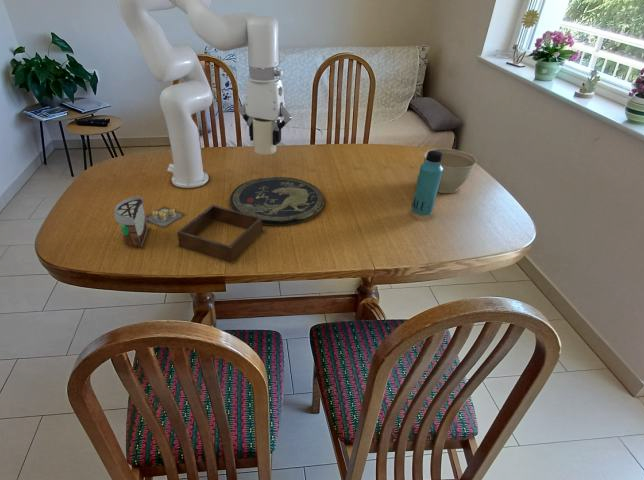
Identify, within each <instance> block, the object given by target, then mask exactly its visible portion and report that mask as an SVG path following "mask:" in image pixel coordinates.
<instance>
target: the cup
mask: <svg viewBox="0 0 644 480" xmlns="http://www.w3.org/2000/svg"><path fill="white" fill-rule="evenodd" d="M274 130H275V129H274V127H273V124H272V121H270V120H264V119H258V118H253V141H252V143H253V152H254V153H256V154H258V155H266V156H267V155H272V154H275V153H276V152H277V150H278V144H277V145H273V131H274Z"/></svg>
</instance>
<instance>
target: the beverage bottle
mask: <svg viewBox="0 0 644 480" xmlns="http://www.w3.org/2000/svg"><path fill="white" fill-rule="evenodd" d="M431 150H432V151H429V150H428V151H429V152H428V154H427V157H426V160H428V161H427V162H425V163H424V162H423V163H422V164H420V167H419V172H418V175H417V179H416V184H415V189H414V194H413V198H412V202H411V211H412V213H414V214H415V215H418V216H430V215H432V213H433V211H434V207H435V203H436V199H437V195H438V192H437V190H438V186H439V183H440V179H441V175H442V171H443V167H442V166H441V165H440V164H439V163H438V162H441V160H442V153H441V152H439V151H434V150H433V149H431Z"/></svg>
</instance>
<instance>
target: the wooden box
mask: <svg viewBox="0 0 644 480" xmlns="http://www.w3.org/2000/svg"><path fill="white" fill-rule="evenodd" d="M214 221H217V222H221V223H225V224H228V225H233V226H236V227H238V228H239V227H240V228H243V229H245V230H244V231H243V232H242V233H241V234H240V235H239V236H238V237H237V238H236V239H235V240H233V242H232V243H231V244H229V245H228V244H225V243H222V242H218V241H214V240H211V239H208V238H204V237H201V236H197V235H198V234H199V233H200V232H202V231H203V230H204V229H205V228H207V227H209V225H210V224H211V223H212V222H214ZM263 231H264V230H263V224H262V218H261V217H257V216H253V215H250V214H246V213H242V212H238V211H234V210H233V209H230V208H226V207H222V206H218V205H214V204H212V205H210V206H209V207H207V208H206V209H204V211H202V212H201V213H200V214H198V215H197V216H196V217H194V219H192V220H191V221H189V222H188V223H186V225H184V226H183V227H182V228H180V229H179V230H178V231H176V234H177V240H178V245H179V246H178V247H181V248H185V249H188V250H190V251H194V252H197V253H200V254H203V255H206V256H211V257H213V258H216V259H219V260H223V261H226V262H228V263H233V262H234V261H235V260H236V259H237V258H238V257H240V255H241V254H242V253H243V252H244V251H245V250H246V248H248V247H249V246H250V245H251V243H253V242H254V241H255V240H256V239H257V238H258V236H260V234H262V233H263Z"/></svg>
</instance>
